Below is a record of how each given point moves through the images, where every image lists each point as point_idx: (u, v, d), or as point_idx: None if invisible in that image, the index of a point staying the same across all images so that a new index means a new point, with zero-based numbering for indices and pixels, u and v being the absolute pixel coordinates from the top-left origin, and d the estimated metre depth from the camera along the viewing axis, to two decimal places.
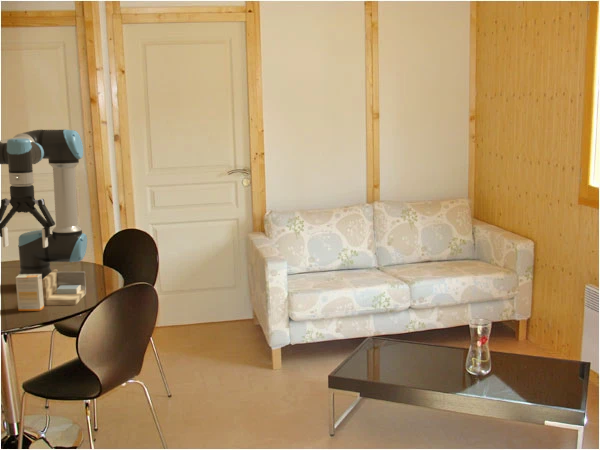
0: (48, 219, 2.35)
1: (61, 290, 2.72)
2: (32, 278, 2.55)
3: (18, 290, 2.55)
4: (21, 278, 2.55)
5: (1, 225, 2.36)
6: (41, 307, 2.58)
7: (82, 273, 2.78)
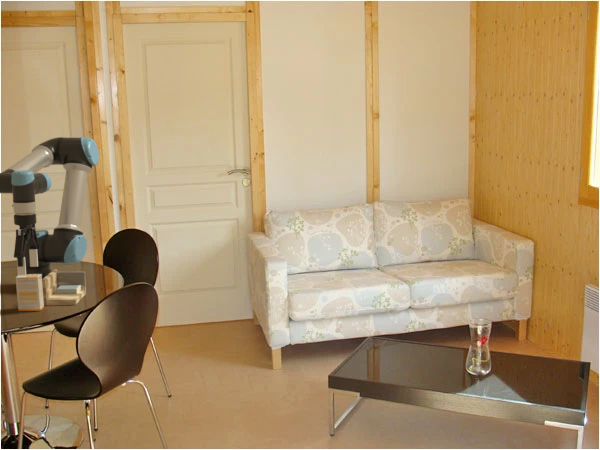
0: None
1: (61, 290, 2.72)
2: (32, 278, 2.55)
3: (18, 290, 2.55)
4: (21, 278, 2.55)
5: None
6: (41, 307, 2.58)
7: (82, 273, 2.78)
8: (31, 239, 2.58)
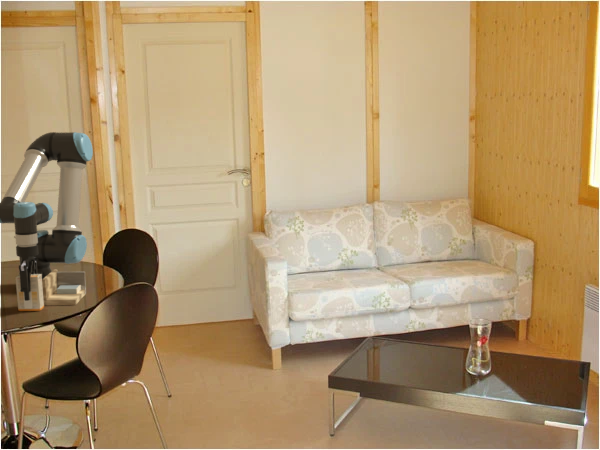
0: None
1: (61, 290, 2.72)
2: (32, 278, 2.55)
3: (18, 290, 2.55)
4: None
5: None
6: (41, 307, 2.58)
7: (82, 273, 2.78)
8: (32, 272, 2.59)
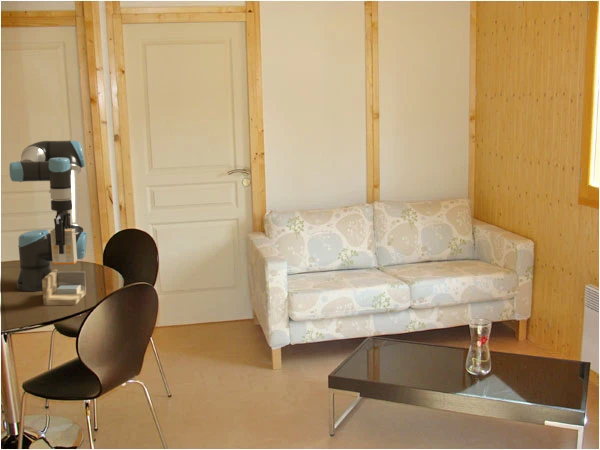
0: (55, 237, 2.57)
1: (61, 290, 2.72)
2: (66, 232, 2.60)
3: (53, 244, 2.61)
4: None
5: None
6: (75, 261, 2.64)
7: (82, 273, 2.78)
8: (65, 227, 2.64)
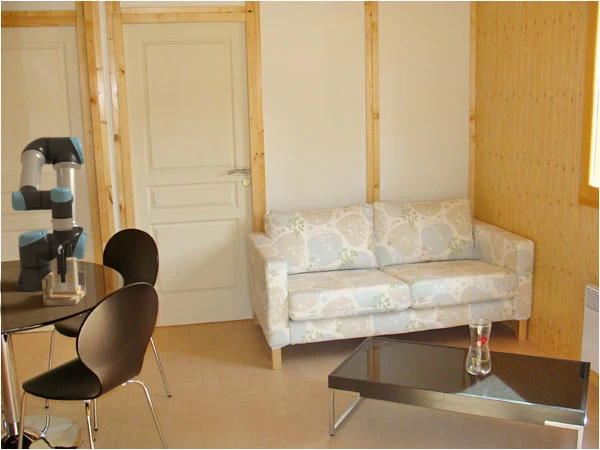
0: None
1: None
2: (68, 261, 2.62)
3: (54, 273, 2.63)
4: None
5: None
6: (76, 289, 2.66)
7: (82, 273, 2.78)
8: (67, 256, 2.66)
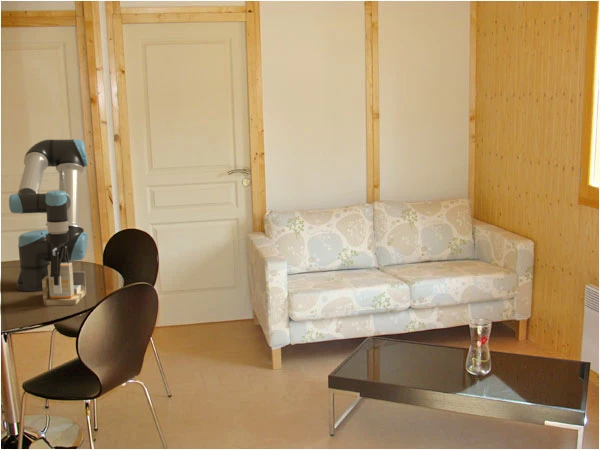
0: (51, 269, 2.59)
1: None
2: (63, 266, 2.64)
3: (50, 278, 2.65)
4: None
5: None
6: (72, 295, 2.68)
7: (82, 273, 2.78)
8: (63, 258, 2.68)
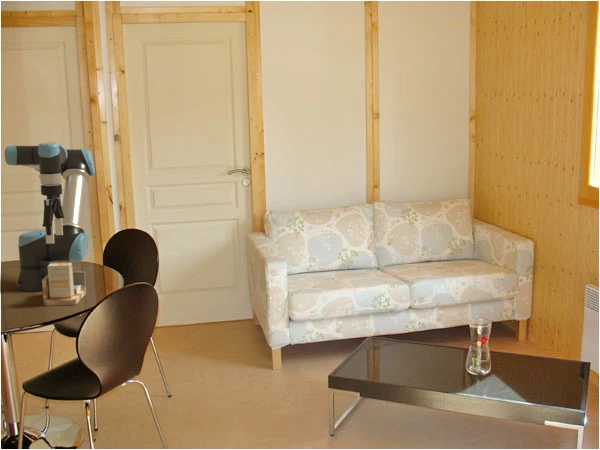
0: (43, 219, 2.57)
1: None
2: (63, 266, 2.64)
3: (50, 278, 2.65)
4: (53, 266, 2.64)
5: None
6: (72, 295, 2.68)
7: (82, 273, 2.78)
8: (57, 209, 2.69)
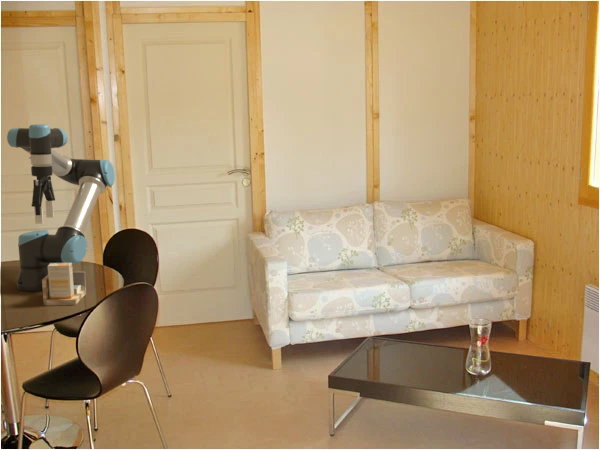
0: None
1: None
2: (63, 266, 2.64)
3: (50, 278, 2.65)
4: (53, 266, 2.64)
5: None
6: (72, 295, 2.68)
7: (82, 273, 2.78)
8: (47, 190, 2.71)
